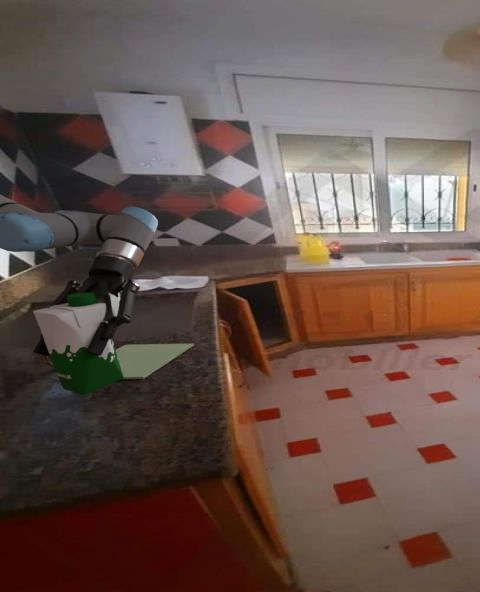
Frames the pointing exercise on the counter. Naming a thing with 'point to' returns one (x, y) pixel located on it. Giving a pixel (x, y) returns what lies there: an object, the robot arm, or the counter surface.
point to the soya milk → (78, 343)
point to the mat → (146, 358)
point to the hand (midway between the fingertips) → (67, 353)
